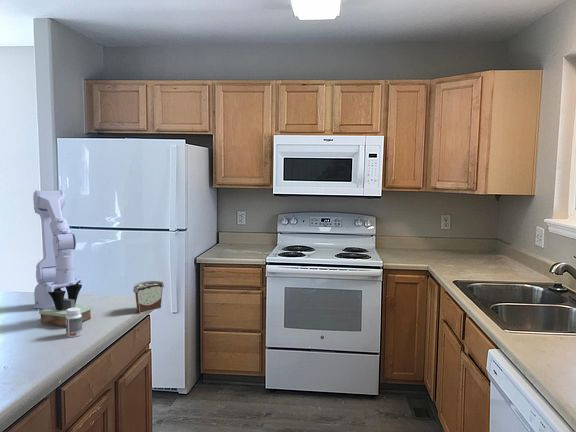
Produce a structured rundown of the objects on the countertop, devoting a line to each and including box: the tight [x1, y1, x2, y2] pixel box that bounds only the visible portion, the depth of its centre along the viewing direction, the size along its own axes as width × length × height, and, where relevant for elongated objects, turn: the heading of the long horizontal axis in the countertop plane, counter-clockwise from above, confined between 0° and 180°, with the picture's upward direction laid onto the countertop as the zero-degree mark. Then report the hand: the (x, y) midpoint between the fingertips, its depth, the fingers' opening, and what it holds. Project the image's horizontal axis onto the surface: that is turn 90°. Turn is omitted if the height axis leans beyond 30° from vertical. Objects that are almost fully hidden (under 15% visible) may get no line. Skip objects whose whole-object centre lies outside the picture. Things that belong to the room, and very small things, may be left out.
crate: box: [40, 309, 92, 328], centre depth 165 cm, size 12×10×4 cm
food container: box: [132, 280, 165, 314], centre depth 181 cm, size 12×6×10 cm, turn 141°
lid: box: [38, 297, 93, 317], centre depth 165 cm, size 13×11×4 cm
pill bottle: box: [65, 307, 83, 338], centre depth 152 cm, size 5×5×8 cm
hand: (65, 307), depth 165 cm, fingers open, 5 cm apart
